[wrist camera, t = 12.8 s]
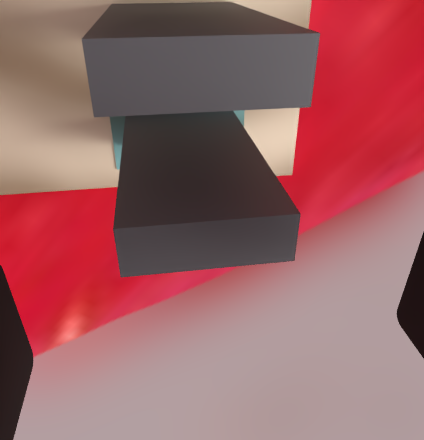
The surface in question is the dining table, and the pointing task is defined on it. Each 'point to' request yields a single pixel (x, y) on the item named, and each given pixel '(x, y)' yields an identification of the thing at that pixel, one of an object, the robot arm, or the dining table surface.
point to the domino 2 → (198, 197)
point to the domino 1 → (196, 60)
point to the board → (81, 100)
